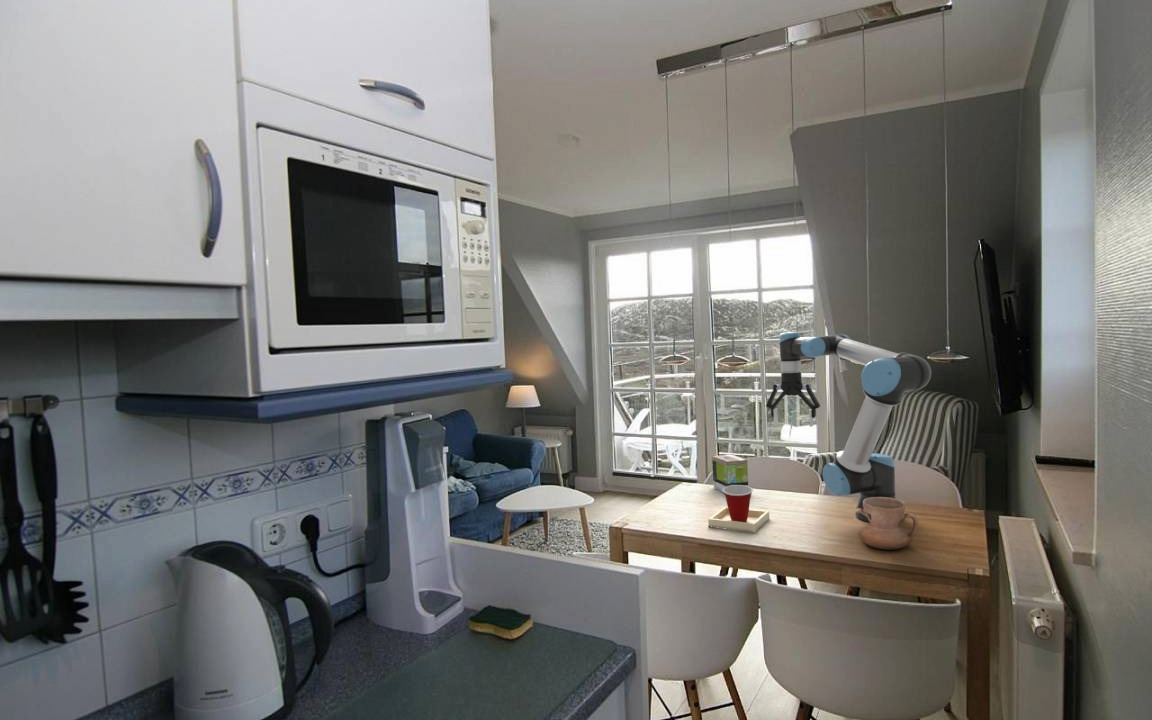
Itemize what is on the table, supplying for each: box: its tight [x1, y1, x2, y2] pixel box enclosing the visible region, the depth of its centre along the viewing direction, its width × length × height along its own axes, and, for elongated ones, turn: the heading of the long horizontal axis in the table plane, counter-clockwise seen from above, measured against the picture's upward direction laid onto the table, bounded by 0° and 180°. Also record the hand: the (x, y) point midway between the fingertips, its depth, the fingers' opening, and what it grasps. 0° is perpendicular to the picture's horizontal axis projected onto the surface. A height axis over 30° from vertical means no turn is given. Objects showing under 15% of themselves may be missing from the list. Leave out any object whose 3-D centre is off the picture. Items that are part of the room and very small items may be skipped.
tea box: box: [711, 453, 749, 493], centre depth 281 cm, size 15×10×15 cm, turn 13°
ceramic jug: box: [854, 497, 919, 551], centre depth 203 cm, size 18×14×14 cm
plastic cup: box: [722, 485, 754, 522], centre depth 235 cm, size 11×11×12 cm
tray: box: [707, 506, 770, 534], centre depth 235 cm, size 17×17×3 cm
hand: (793, 425), depth 251 cm, fingers open, 13 cm apart
